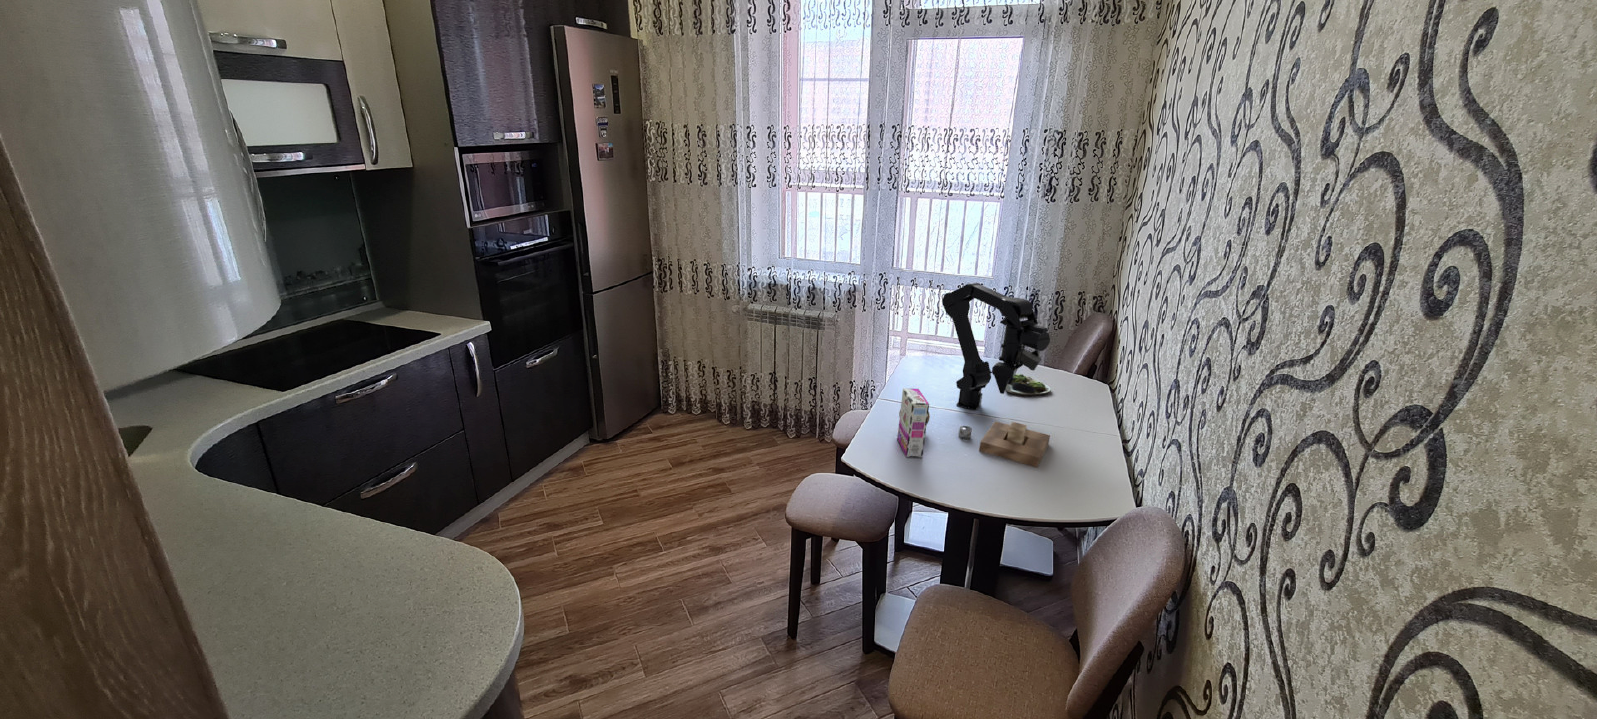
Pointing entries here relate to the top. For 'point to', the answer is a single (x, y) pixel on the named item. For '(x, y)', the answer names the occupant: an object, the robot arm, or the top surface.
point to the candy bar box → (913, 422)
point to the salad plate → (1027, 387)
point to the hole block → (1014, 445)
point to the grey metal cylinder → (965, 432)
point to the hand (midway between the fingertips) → (1005, 388)
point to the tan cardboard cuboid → (1016, 433)
